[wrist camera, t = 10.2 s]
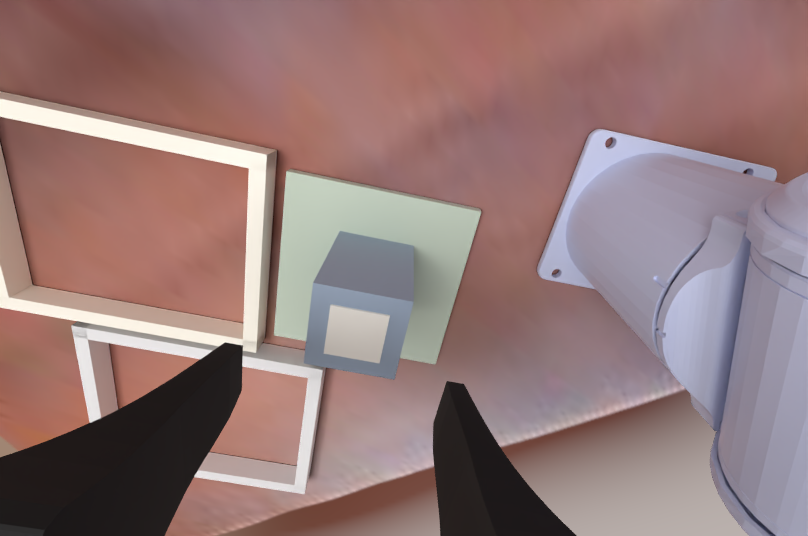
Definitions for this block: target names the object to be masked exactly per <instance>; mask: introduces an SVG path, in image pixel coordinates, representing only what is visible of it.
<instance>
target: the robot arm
mask: <svg viewBox="0 0 808 536" xmlns="http://www.w3.org/2000/svg"><path fill="white" fill-rule="evenodd" d="M610 137H612V139H613V142H612V144H611V146H609V147H606V146H605V142H606V140H607V139H608V138H610ZM746 169H747V173H746V174H744V173H743V172H744V170H746ZM776 177H777V172H776V170H775V169H774V168H771V167H767V166H762V165H758V164H754V163H749V162H745V161H740V160H736V159H732V158H727V157H723V156H718V155H714V154H710V153H705V152H701V151H696V150H692V149H688V148H683V147H679V146H674V145H670V144H666V143H661V142H657V141H652V140H648V139H644V138H639V137H635V136H630V135H626V134H622V133H617V132H613V131H608V130H604V129H596V130H594V131H593V132H591V133H590V135H589V136H588V138H587V141H586V143H585V146H584V149H583V151H582V154H581V156H580V159H579V161H578V164H577V166H576V169H575V172H574V174H573V177H572V179H571V182H570V184H569V187H568V190H567V192H566V195H565V197H564V200H563V202H562V205H561V208H560V210H559V213H558V215H557V218H556V220H555V223H554V226H553V228H552V231H551V233H550V236H549V238H548V241H547V244H546V246H545V249H544V251H543V254H542V256H541V259H540V262H539V264H538V267H537V273H538V275H539V276H540V277H541V278H542V279H545V280H550V281H556V282H561V283H566V284H571V285H576V286H581V287H586V288H591V289H596V290H597V291H598V292H599V293H600V294H601V295H602V297H603V298H604V299H605V300H606V301H607V302H608V303H609V304H610V305H611V307H612V308H613V309H614V310H615V311H616V312H617V313H618V314H619V316H620V317H621V318H622V319H623V320H624V321H625V322H626V323H627V324H628V326H629V327H630V328H631V329H632V330H633V331H634V332H635V333H636V334H637V336H638V337H639V338H640V339H641V340H642V341H643V342H644V343H645V345H646V346H647V347H648V348H649V349H650V350H651V351H652V352H653V353H654V355H655V356H656V357H657V358H658V359H659V360H660V361H661V362H662V363H663V365H664V366H665V367H666V368H667V369H668V370H669V371H670V372H671V373H672V375H673V376H674V377H675V378H676V379H677V380H678V381H679V382H680V384H681V385H682V386H683V387H684V388H685V389H686V390H687V391H689V392H690V394H691V404H692V406H693V407H694V408H695V409H696V410H697V411H698V413H699V414H700V415H701V416H702V417H703V418H704V419H705V421H706V422H707V423H708V424H709V425H710V426H711V427H712V428H713V430H714V431H717V432H716V434H715V438H714V441H713V445H712V448H711V454H710V468H711V473H712V478H713V481H714V484H715V486H716V488H717V491H718V494H719V495H720V497H721V499H722V501H723V502H724V504H725V506H726V507H727V509H728V511H729V512H730V514H731V515H732V516H733V517H734V519H735V520H736V521H737V522H738V524H739V525H740V526H741V528H742V529H743V530H744V531H745V532H746V533H747V534H748V535H749V536H808V173H805V174H802V175H800V176H798V177H796V178H794V179H792V180H791V181H789V182H787V183H786V184H782V183H778V182H774V181H775V179H776ZM555 269H559V272H558V273H557V274H555V275H552V272H553V270H555ZM242 359H243V345H237V344H232V343H226V342H225V343H223V344H222V345H220V346H219V347H217V348H216V349H214V350H213V351H212V352H210V353H209V354H207V355H206V356H205V357H203V358H202V359H200V360H199V361H197V362H196V363H194V364H193V365H192V366H190V367H189V368H187V369H186V370H184V371H183V372H181V373H180V374H178V375H177V376H175V377H174V378H172V379H171V380H169V381H167V382H166V383H164V384H163V385H161V386H159V387H158V388H156V389H154V390H153V391H151V392H149V393H148V394H146V395H144V396H143V397H141V398H139V399H137V400H136V401H134V402H132V403H130V404H128V405H126V406H124V407H122V408H120V409H118V410H116V411H115V412H113V413H111V414H108V415H106V416H104V417H102V418H100V419H98V420H95V421H93V422H91V423H89V424H86V425H84V426H82V427H80V428H77V429H75V430H73V431H71V432H68V433H66V434H63V435H61V436H58V437H56V438H53V439H51V440H48V441H46V442H43V443H40V444H38V445H35V446H32V447H29V448H27V449H24V450H21V451H18V452H15V453H13V454H9V455H6V456H3V457H0V536H165V533H166V531H167V529H168V527H169V525H170V523H171V521H172V519H173V517H174V515H175V512H176V510H177V508H178V506H179V504H180V502H181V500H182V498H183V496H184V494H185V492H186V490H187V488H188V487H189V485H190V483H191V481H192V479H193V478H194V476H195V474H196V473H197V471H198V469H199V468H200V466H201V464H202V463H203V461H204V459H205V458H206V456H207V454H208V453H209V451H210V450H211V448H212V446H213V445H214V443H215V441H216V440H217V438H218V436H219V435H220V433H221V431H222V430H223V428H224V426H225V425H226V423H227V421H228V419H229V418H230V415H231V413H232V411H233V409H234V407H235V405H236V402H237V400H238V398H239V395H240V393H241V391H242ZM433 456H434V467H435V477H436V487H437V497H438V507H439V517H440V535H441V536H576V535H575V534H574V533H573V532H572V531H571V530H570V529H569V528H568V527H567V526H566V525H565V524H564V523H563V522H562V521H561V520H560V519H559V518H558V517H557V516H556V515H555V514H554V513H553V512H552V511H551V510H550V509H549V508H548V507H547V506H546V505H545V504H544V502H543V501H542V500H541V499H540V498H539V497H538V496H537V495H536V494H535V492H534V491H533V490H532V489H531V488H530V487H529V485H528V484H527V483H526V482H525V480H524V479H523V478H522V477H521V475H520V474H519V473H518V472H517V470H516V469H515V468H514V466H513V465H512V464H511V462H510V461H509V459H508V458H507V457H506V455H505V454H504V452H503V451H502V449H501V448H500V446H499V445H498V443H497V442H496V440H495V439H494V437H493V435H492V434H491V432H490V430H489V429H488V427H487V425H486V424H485V422H484V420H483V419H482V417H481V415H480V413H479V411H478V410H477V408H476V406H475V404H474V402H473V400H472V398H471V397H470V395H469V393H468V391H467V389H466V387H465V386H464V384H460V383H454V382H448V381H447V382H446V386H445V389H444V392H443V395H442V398H441V401H440V404H439V407H438V411H437V414H436V417H435V420H434V426H433Z"/></svg>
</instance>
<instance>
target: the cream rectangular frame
mask: <svg viewBox="0 0 808 536" xmlns="http://www.w3.org/2000/svg"><path fill="white" fill-rule="evenodd" d="M0 117H5V118H9V119H14V120H19V121H24V122H29V123H34V124H38V125H43V126H48V127H53V128H58V129H62V130H67V131H72V132H77V133H82V134H86V135H91V136H96V137H101V138H106V139H111V140H115V141H120V142H125V143H130V144H135V145H139V146H144V147H149V148H154V149H159V150H163V151H168V152H173V153H178V154H183V155H187V156H192V157H197V158H202V159H207V160H212V161H216V162H221V163H226V164H231V165H236V166H240V167H245V168H249V182H248V211H247V239H246V268H245V296H244V323H238V322H233V321H227V320H222V319H216V318H211V317H205V316H200V315H194V314H189V313H183V312H178V311H172V310H167V309H161V308H156V307H150V306H145V305H139V304H134V303H128V302H123V301H117V300H112V299H106V298H101V297H96V296H90V295H85V294H79V293H74V292H68V291H63V290H57V289H52V288H46V287H41V286H35V285H33V284H32V280H31V276H30V271H29V267H28V262H27V258H26V254H25V249H24V245H23V240H22V236H21V232H20V227H19V223H18V219H17V214H16V210H15V205H14V201H13V197H12V192H11V188H10V183H9V179H8V175H7V170H6V166H5V162H4V157H3V153H2V148H1V144H0V307H1V308H6V309H12V310H17V311H23V312H29V313H34V314H40V315H46V316H51V317H57V318H62V319H68V320H74V321H79V322H85V323H91V324H96V325H102V326H107V327H113V328H119V329H124V330H130V331H136V332H141V333H147V334H153V335H158V336H164V337H169V338H175V339H181V340H186V341H192V342H198V343H203V344H209V345H214V346H220V345H222V344H223V343H225V342H226V343H232V344H237V345H243V351H248V352H254V353H257V351H258V349H259V347H260V346H261V344H262V342H263V341H264V339H265V332H266V316H267V300H268V285H269V269H270V254H271V238H272V223H273V207H274V191H275V176H276V160H277V150H275V149H270V148H265V147H261V146H256V145H251V144H246V143H242V142H237V141H232V140H228V139H223V138H218V137H213V136H209V135H204V134H199V133H194V132H190V131H185V130H180V129H176V128H171V127H166V126H161V125H157V124H152V123H147V122H143V121H138V120H133V119H128V118H124V117H119V116H114V115H109V114H105V113H100V112H95V111H91V110H86V109H81V108H76V107H72V106H67V105H62V104H58V103H53V102H48V101H43V100H39V99H34V98H29V97H25V96H20V95H15V94H10V93H6V92H1V91H0Z"/></svg>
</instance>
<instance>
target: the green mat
mask: <svg viewBox="0 0 808 536" xmlns="http://www.w3.org/2000/svg"><path fill="white" fill-rule="evenodd" d="M480 215H481V210H480V208H475V207H470V206H465V205H460V204H456V203H451V202H446V201H441V200H437V199H432V198H427V197H422V196H417V195H413V194H408V193H403V192H398V191H394V190H389V189H384V188H379V187H374V186H370V185H365V184H360V183H355V182H350V181H346V180H341V179H336V178H331V177H327V176H322V175H317V174H312V173H307V172H303V171H298V170H293V169H289V170H287V171H286V183H285V196H284V209H283V222H282V235H281V249H280V262H279V275H278V288H277V302H276V315H275V328H274V335H275V336H281V337H287V338H292V339H298V340H303V341H306V338H307V330H308V321H309V313H310V304H311V296H312V287H313V282H314V280H315V278H316V276H317V274H318V272H319V270H320V268H321V266H322V264H323V262H324V261H325V259H326V257H327V255H328V253H329V251H330V249H331V247H332V245H333V243H334V241H335V239H336V237H337V235H338V233H339V231H343V232H348V233H353V234H358V235H363V236H368V237H373V238H378V239H383V240H388V241H393V242H398V243H403V244H408V245H413V246H414V303H413V307H412V311H411V315H410V319H409V323H408V327H407V331H406V335H405V339H404V343H403V347H402V351H401V355H400V358H402V359H408V360H413V361H419V362H425V363H430V364H436V361H437V358H438V354H439V351H440V348H441V344H442V341H443V338H444V334H445V331H446V328H447V324H448V321H449V318H450V314H451V311H452V308H453V304H454V301H455V298H456V294H457V291H458V288H459V284H460V281H461V278H462V274H463V271H464V268H465V264H466V261H467V258H468V255H469V251H470V248H471V245H472V241H473V238H474V235H475V231H476V228H477V225H478V221H479V218H480Z"/></svg>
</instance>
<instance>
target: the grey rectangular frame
mask: <svg viewBox="0 0 808 536" xmlns="http://www.w3.org/2000/svg"><path fill="white" fill-rule="evenodd" d="M72 331H73V337H74V342H75V347H76V352H77V358H78V363H79V368H80V373H81V379H82V384H83V389H84V395H85V400H86V405H87V410H88V416H89V421H90V423H91V422H93V421H95V420H98V419H100V418H102V417H104V416H106V415H108V414H111V413H113V412H115V411H116V410H118V405H117V398H116V391H115V384H114V377H113V370H112V363H111V356H110V349H109V343H111V344H117V345H123V346H128V347H134V348H140V349H145V350H151V351H157V352H163V353H168V354H174V355H180V356H185V357H191V358H197V359H202V358H203V357H205V356H206V355H207V354H209V353H210V352H212V351H213V350H214V349H216V348H217V347H219V346H214V345H209V344H203V343H198V342H192V341H186V340H181V339H175V338H169V337H164V336H158V335H153V334H147V333H141V332H136V331H130V330H124V329H119V328H113V327H107V326H102V325H96V324H91V323H85V322H79V321H77V322H76V323H75V324H73V325H72ZM304 355H305V350H300V349H294V348H289V347H283V346H278V345H272V344H266V343H262V344H261V346H260V347H259V349H258V351H257V353H254V352H248V351H243V359H242V366H243V367H248V368H254V369H260V370H265V371H271V372H277V373H282V374H288V375H294V376H300V377H305V378H308V384H307V392H306V399H305V407H304V415H303V423H302V431H301V438H300V446H299V454H298V462H297V466H293V465H286V464H280V463H274V462H268V461H261V460H255V459H249V458H243V457H236V456H230V455H224V454H218V453H211V452H209V453H208V454H207V456H206V458H205V459H204V461H203V463H202V464H201V466H200V468H199V469H198V471H197V473H196V474H195V476H194V477H198V478H204V479H210V480H217V481H223V482H230V483H236V484H242V485H249V486H255V487H262V488H268V489H275V490H281V491H287V492H294V493H300V494H305V491H306V487H307V483H308V479H309V476H310V469H311V463H312V456H313V450H314V443H315V436H316V430H317V423H318V416H319V410H320V403H321V396H322V390H323V383H324V377H325V370H326V367H321V366H315V365H309V364H304Z"/></svg>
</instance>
